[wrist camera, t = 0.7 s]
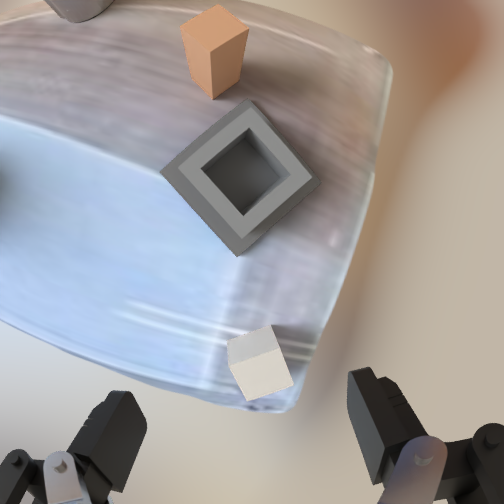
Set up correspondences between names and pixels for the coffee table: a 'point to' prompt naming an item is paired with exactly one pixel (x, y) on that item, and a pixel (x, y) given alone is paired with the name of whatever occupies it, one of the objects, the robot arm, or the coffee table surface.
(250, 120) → the well
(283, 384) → the white cube
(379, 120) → the coffee table surface
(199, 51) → the orange rectangular block
